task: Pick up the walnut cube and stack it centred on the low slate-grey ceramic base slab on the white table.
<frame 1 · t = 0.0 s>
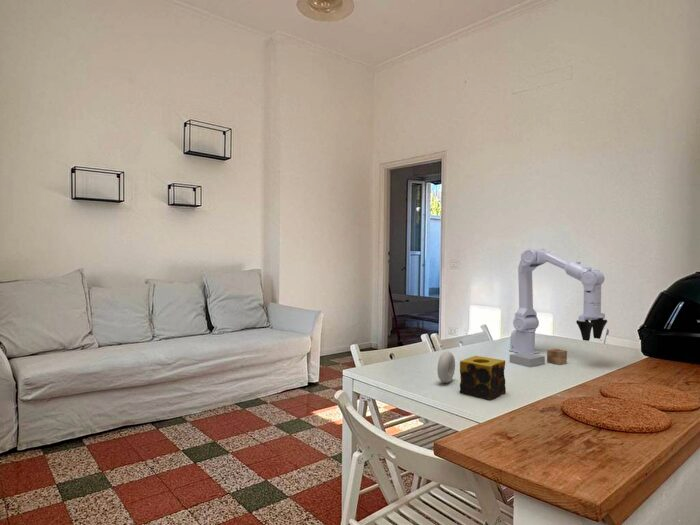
hand: (591, 339, 170), 10 cm above the table, fingers open, 7 cm apart
base: (526, 363, 174), on the table
donut: (446, 383, 148), on the table
block: (556, 363, 175), on the table
candle: (482, 394, 137), on the table
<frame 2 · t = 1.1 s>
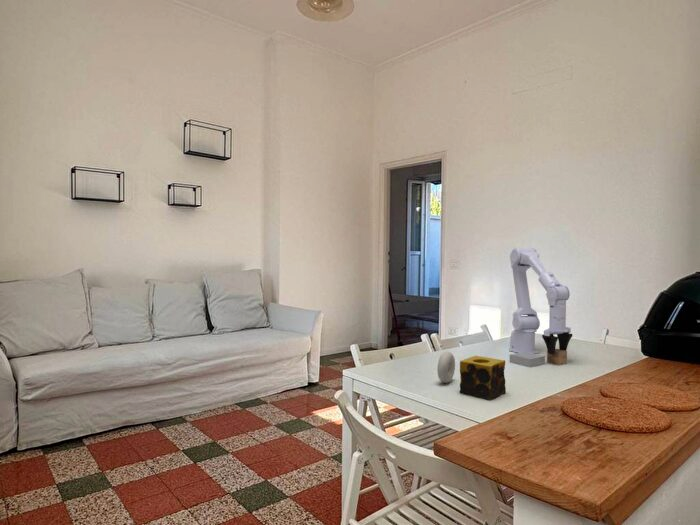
hand: (557, 352, 175), 4 cm above the table, fingers open, 7 cm apart
nothing on the table moved.
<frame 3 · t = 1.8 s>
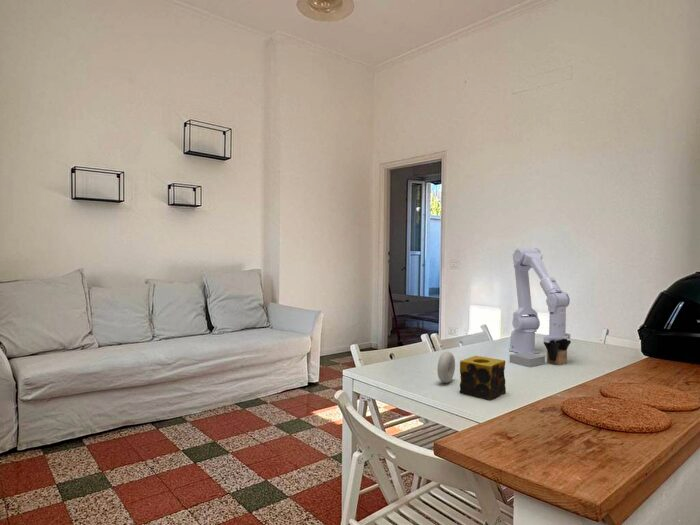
hand: (556, 359, 175), 1 cm above the table, fingers closed on block, 5 cm apart
block: (556, 363, 175), on the table, touching gripper
everything else where it was.
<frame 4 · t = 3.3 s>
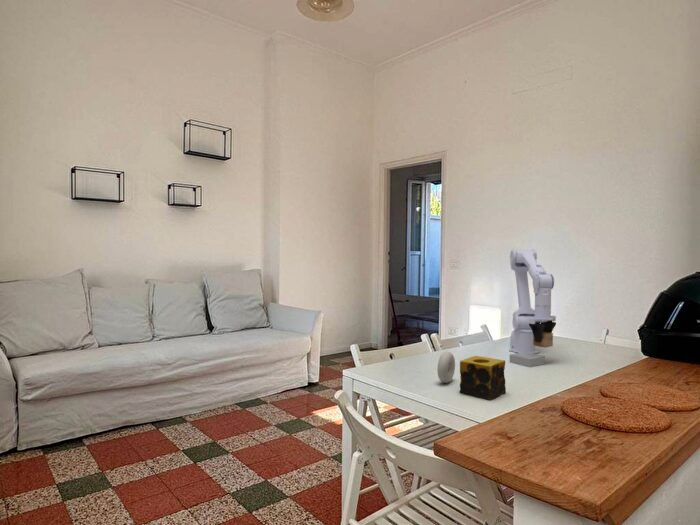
hand: (542, 341, 174), 8 cm above the table, fingers closed on block, 5 cm apart
block: (542, 345, 174), point 7 cm above the table, touching gripper
everything else where it was.
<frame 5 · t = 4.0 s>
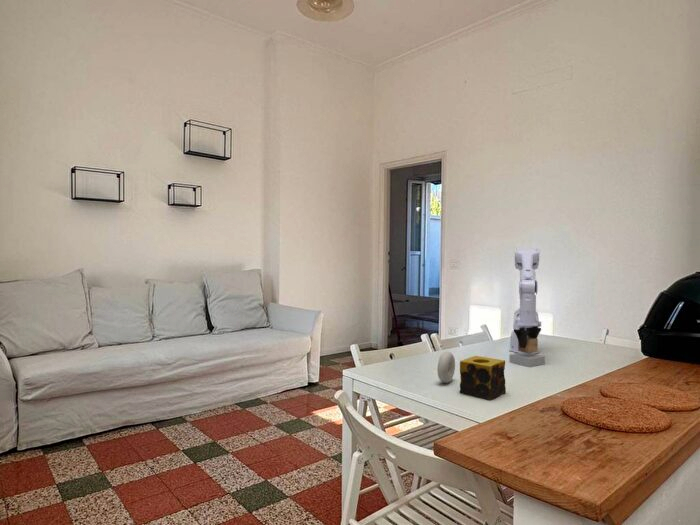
hand: (527, 346, 174), 6 cm above the table, fingers closed on block, 5 cm apart
block: (527, 351, 174), point 5 cm above the table, touching gripper
everything else where it was.
when the fingers open (6 cm above the table, at t = 4.6 s): block stays where it is, resting on base.
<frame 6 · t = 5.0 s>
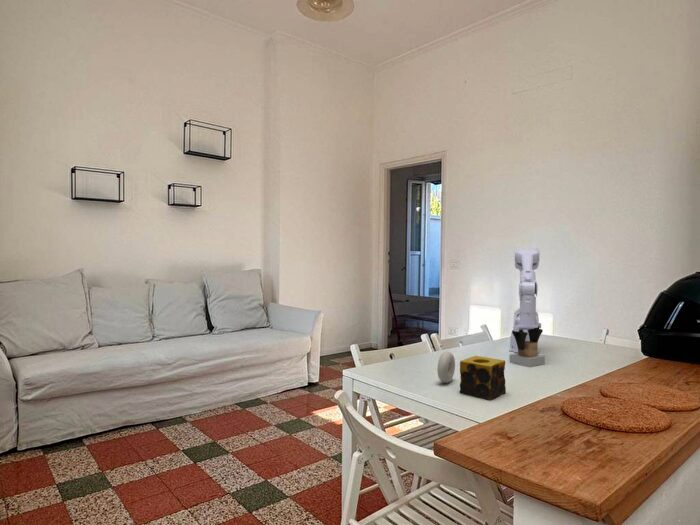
hand: (527, 348, 174), 6 cm above the table, fingers open, 7 cm apart
block: (527, 355, 174), point 3 cm above the table, touching base
everything else where it was.
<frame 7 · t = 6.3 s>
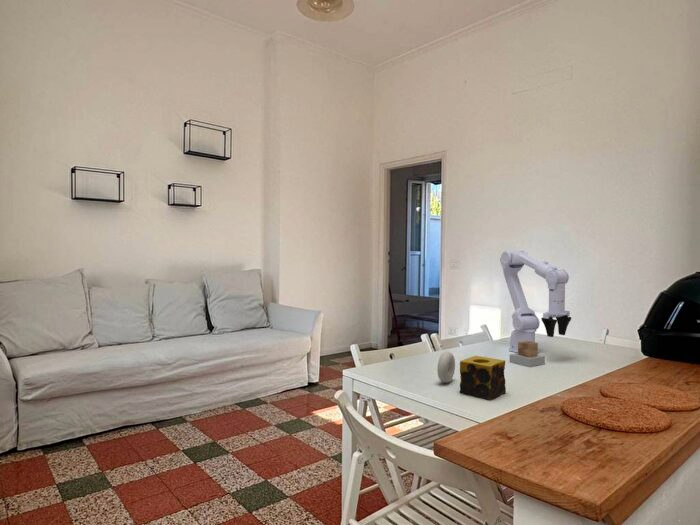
hand: (556, 335, 178), 10 cm above the table, fingers open, 7 cm apart
nothing on the table moved.
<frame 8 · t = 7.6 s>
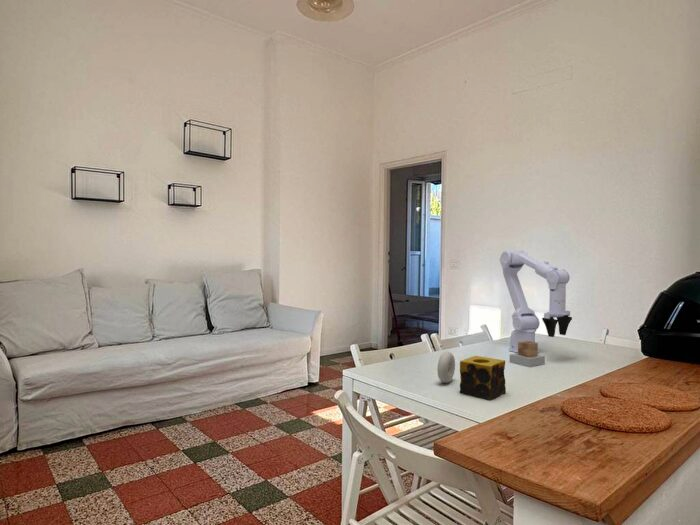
hand: (556, 335, 178), 10 cm above the table, fingers open, 7 cm apart
nothing on the table moved.
at the end: block 0.3 cm off-centre on the base, point 3.0 cm above the base's base; block tilted 0°; the gripper is holding nothing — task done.
